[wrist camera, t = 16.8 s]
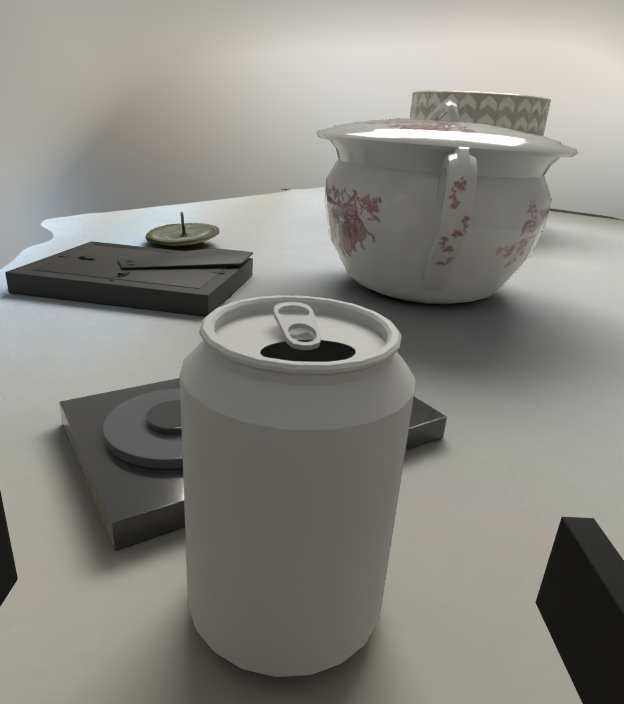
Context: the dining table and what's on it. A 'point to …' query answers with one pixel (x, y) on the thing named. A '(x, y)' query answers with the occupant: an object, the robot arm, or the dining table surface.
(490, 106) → the planter
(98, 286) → the picture frame
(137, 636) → the dining table surface
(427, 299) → the chamber pot
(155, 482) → the hob
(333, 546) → the can
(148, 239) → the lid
